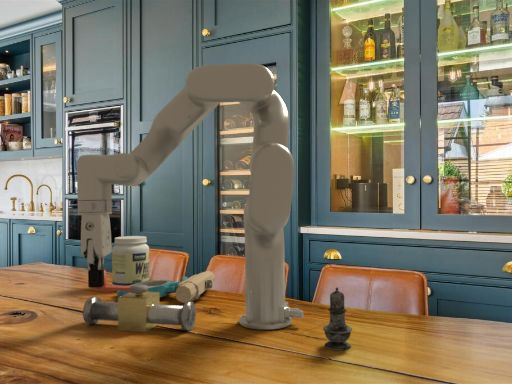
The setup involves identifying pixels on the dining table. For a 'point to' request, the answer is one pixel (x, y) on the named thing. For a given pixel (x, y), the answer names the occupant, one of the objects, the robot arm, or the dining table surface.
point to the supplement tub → (130, 261)
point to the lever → (122, 287)
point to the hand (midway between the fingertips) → (96, 286)
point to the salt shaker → (337, 324)
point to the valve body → (139, 312)
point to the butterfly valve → (180, 286)
